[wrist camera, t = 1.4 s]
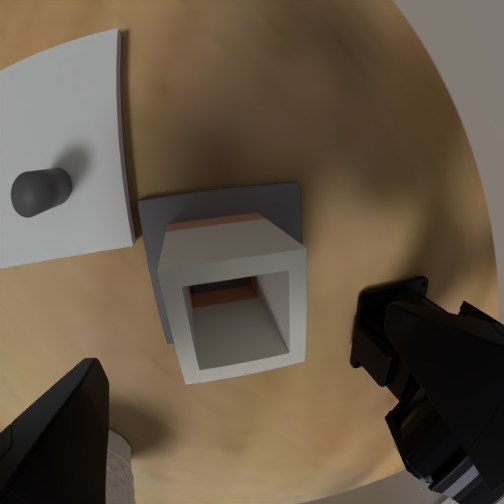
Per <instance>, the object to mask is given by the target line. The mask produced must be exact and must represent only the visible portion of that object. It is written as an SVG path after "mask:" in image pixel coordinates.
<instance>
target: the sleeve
mask: <svg viewBox="0 0 504 504" xmlns="http://www.w3.org/2000/svg"><path fill="white" fill-rule="evenodd" d="M157 271H158V276H159V281H160V286H161V291H162V295H163V300H164V304H165V309H166V313H167V317H168V321H169V325H170V329H171V333H172V337H173V341H174V345H175V348H176V352H177V356H178V359H179V363H180V366H181V370H182V373H183V377H184V380H185V383H186V385H187V384H194V383H201V382H208V381H214V380H220V379H226V378H232V377H237V376H242V375H247V374H252V373H257V372H262V371H267V370H271V369H275V368H280V367H284V366H288V365H292V364H296V363H300V362H304V361H305V347H306V314H307V248H306V247H304V246H303V245H302V244H300V243H299V242H298V241H296V240H295V239H293V238H292V237H291V236H289V235H288V234H287V233H285V232H284V231H282V230H281V229H280V228H278V227H277V226H276V225H274V224H273V223H271V222H270V221H269V220H267V219H266V218H264V217H263V216H262V215H260V214H259V213H251V214H242V215H234V216H226V217H218V218H210V219H202V220H195V221H188V222H181V223H174V224H168V225H167V229H166V234H165V238H164V242H163V246H162V251H161V255H160V260H159V265H158V269H157ZM249 276H251V285H248V286H241V287H235V288H229V289H223V290H216V291H210V292H203V293H196V294H191V290H190V285H197V284H204V283H211V282H217V281H224V280H230V279H237V278H243V277H249Z"/></svg>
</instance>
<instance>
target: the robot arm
mask: <svg viewBox="0 0 504 504" xmlns="http://www.w3.org/2000/svg"><path fill="white" fill-rule="evenodd" d="M427 287H428V278H426V277H424V276H420V277H416V278H413V279H409V280H406V281H402V282H398V283H395V284H391V285H387V286H384V287H380V288H376V289H372V290H368V291H365V292H363V293H362V294H361V295H360V297H359V301H358V310H357V318H356V325H355V329H354V337H353V344H352V350H351V353H352V354H351V360H350V364H351V365H352V367H353V368H359V367H361V366H363V367H364V369H365V370H366V371H367V372H368V373H369V374H370V376H371V377H372V378H373V379H374V380H375V381H376V383H377V384H378V385H379V386H381V387H384V386H386V387H387V388H388V389H389V390H390V391H391V392H392V393H393V395H394V396H395V397H396V398H397V399H398V400H399V402H398V404H397V405H396V406H395V407H394V409H393V410H392V411H389V413H388V414H387V415H386V416H385V420H386V422H387V424H388V427H389V429H390V432H391V434H392V436H393V439H394V441H395V444H396V446H397V448H398V451H399V453H400V456H401V458H402V461H403V463H404V465H405V467H406V469H407V471H408V472H410V473H411V474H412V475H413V476H414V477H416V478H417V479H419V480H420V481H423V482H425V483H429V484H430V485H429V486H428V488H429V490H431V491H434V492H438V493H441V494H444V495H446V496H448V497H450V498H452V499H453V500H454V501H456V502H457V503H459V504H496V503H497V502H498V501H499V500H501V499H502V498H503V497H504V325H503V324H501V323H500V322H498V321H497V320H495V319H493V318H492V317H490V316H489V315H487V314H485V313H484V312H482V311H480V310H479V309H477V308H476V307H474V306H472V305H471V304H469V303H467V302H466V301H463V303H462V305H461V307H460V309H461V310H460V311H459V313H458V315H457V314H452V313H449V312H447V311H446V310H444V309H443V308H441V307H440V306H438V305H437V304H435V303H434V302H432V301H431V300H429V299H427V298H426V293H427ZM367 297H368V298H367ZM366 298H367V300H366V301H365V299H366ZM108 437H109V382H108V379H107V376H106V374H105V372H104V370H103V368H102V365H101V363H100V361H99V360H98V359H97V358H85V359H83V360H82V361H81V362H80V363H79V364H77V365H76V366H75V367H74V368H73V369H72V370H70V371H69V372H68V373H67V374H66V375H65V376H63V377H62V378H61V379H60V380H59V381H58V382H57V383H55V384H54V385H53V386H52V387H51V388H50V389H49V390H47V391H46V392H45V393H44V394H43V395H42V396H41V397H40V398H38V399H37V400H36V401H35V402H34V403H33V404H32V405H31V406H29V407H28V408H27V409H26V410H25V411H24V412H23V413H22V414H21V415H19V416H18V417H17V418H16V419H15V420H14V421H13V422H12V423H11V424H9V425H8V426H7V427H6V428H5V429H4V430H3V431H2V432H1V433H0V504H106V467H107V450H108Z"/></svg>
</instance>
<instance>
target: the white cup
mask: <svg viewBox="0 0 504 504" xmlns="http://www.w3.org/2000/svg"><path fill="white" fill-rule="evenodd" d="M106 504H136V502H135V489H134V477H133V474H132V468H131V447H130V445H129V444H128V443H127V442H126V441H125V439H124V438H123V437H122V436H120V435H119V434H117V433H115V432H114V431H112V430H110V429H109V437H108V450H107V467H106Z"/></svg>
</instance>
